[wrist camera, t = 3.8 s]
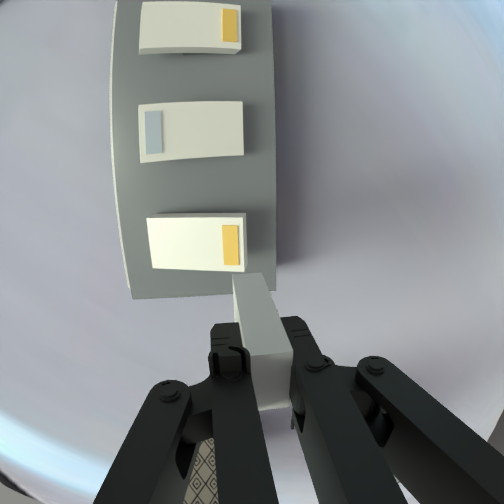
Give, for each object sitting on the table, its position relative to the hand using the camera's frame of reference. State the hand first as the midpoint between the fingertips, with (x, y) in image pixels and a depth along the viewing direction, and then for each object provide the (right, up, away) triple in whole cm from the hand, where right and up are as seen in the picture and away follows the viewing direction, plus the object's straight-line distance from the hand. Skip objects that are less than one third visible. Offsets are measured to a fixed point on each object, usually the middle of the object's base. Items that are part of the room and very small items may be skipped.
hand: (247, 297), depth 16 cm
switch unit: (-5, +14, +14) cm, 21 cm away
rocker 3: (-4, +3, +9) cm, 11 cm away
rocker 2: (-4, +12, +6) cm, 14 cm away
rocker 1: (-5, +20, +3) cm, 21 cm away
